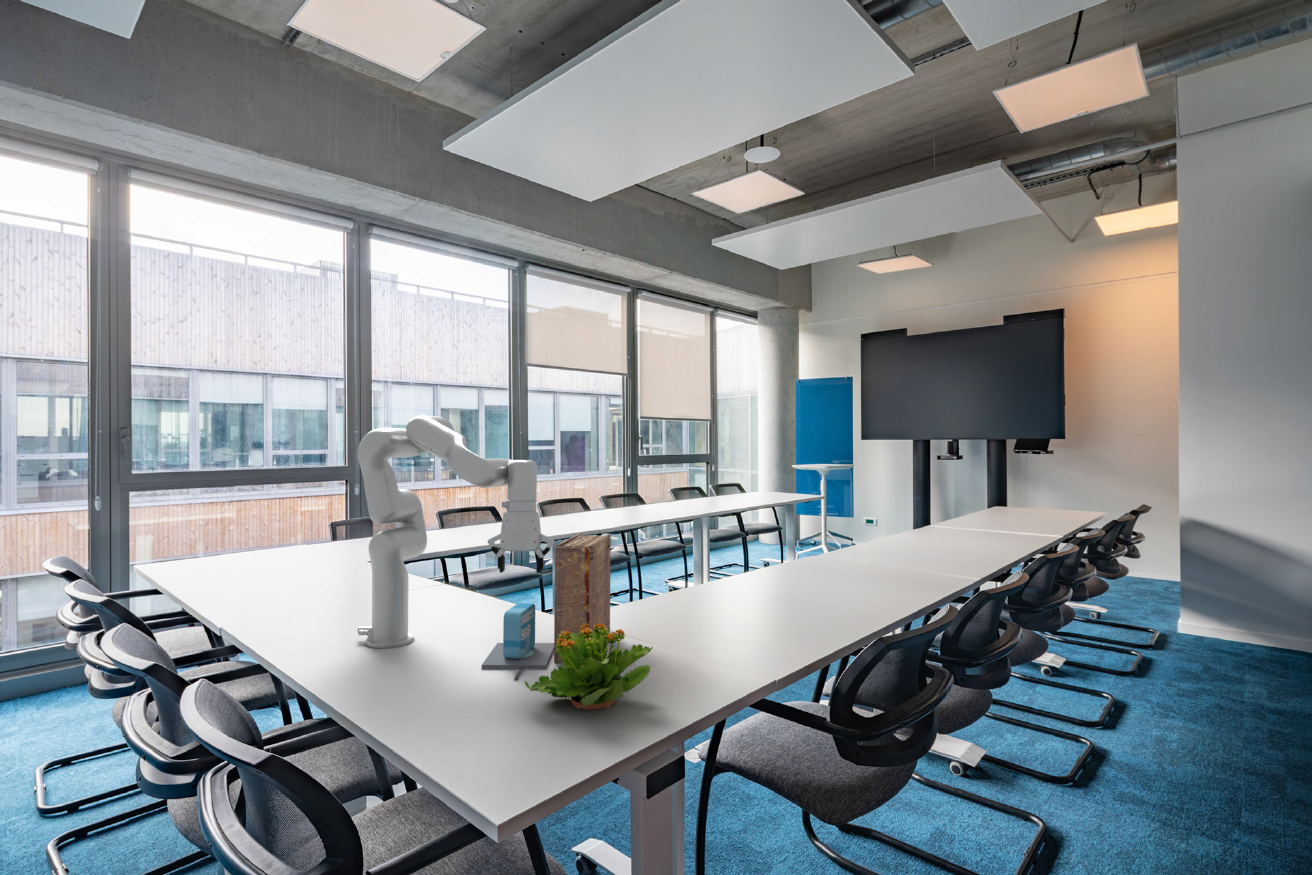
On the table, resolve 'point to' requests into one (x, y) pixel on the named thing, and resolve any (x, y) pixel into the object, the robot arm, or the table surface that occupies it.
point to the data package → (519, 630)
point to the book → (581, 584)
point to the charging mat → (531, 660)
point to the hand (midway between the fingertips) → (520, 571)
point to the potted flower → (593, 668)
